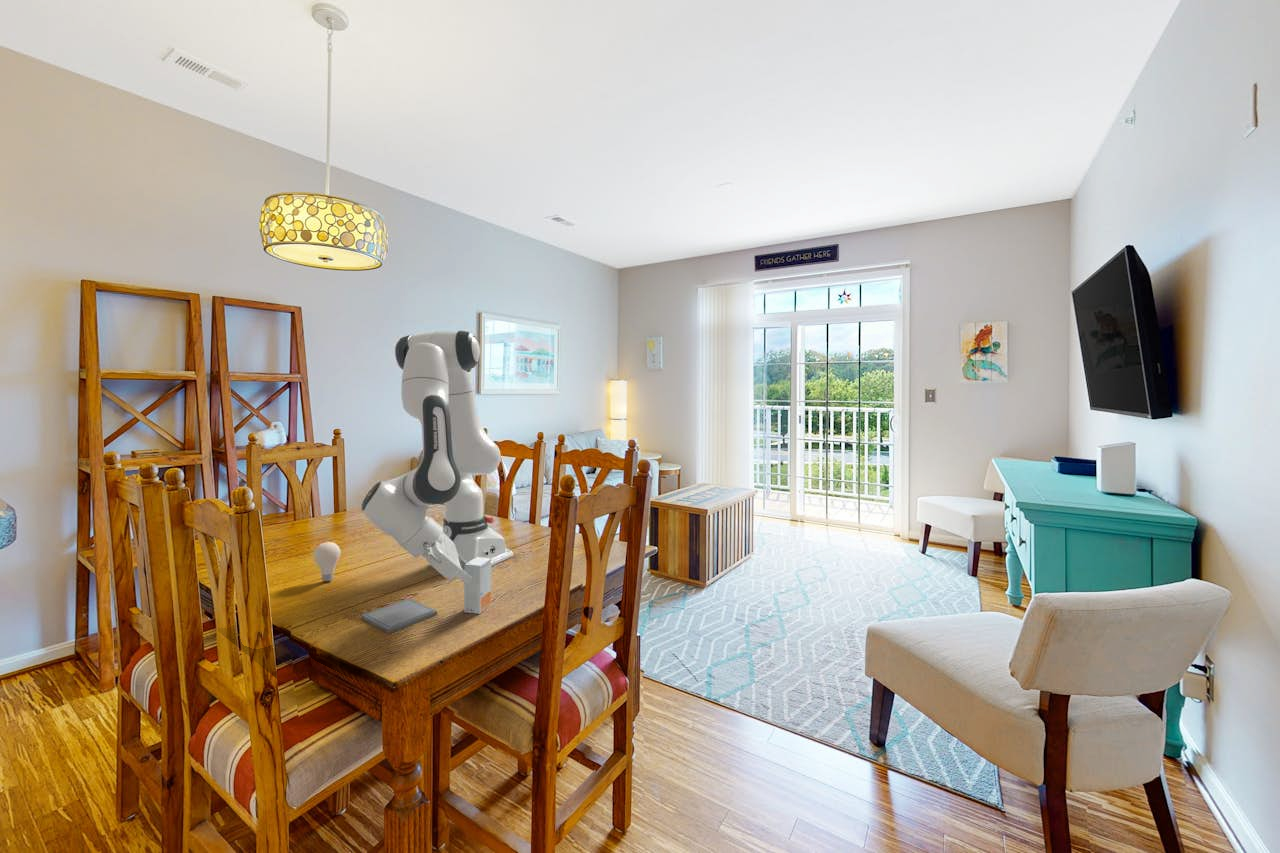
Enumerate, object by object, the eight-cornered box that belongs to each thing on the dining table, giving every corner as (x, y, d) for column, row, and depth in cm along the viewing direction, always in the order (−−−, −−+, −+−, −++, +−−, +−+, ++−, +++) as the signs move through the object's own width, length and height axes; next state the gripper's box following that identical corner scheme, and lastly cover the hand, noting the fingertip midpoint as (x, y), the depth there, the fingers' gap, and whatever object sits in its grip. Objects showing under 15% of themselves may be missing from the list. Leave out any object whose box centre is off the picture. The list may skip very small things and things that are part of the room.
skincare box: (480, 614, 125) (479, 566, 125) (463, 612, 126) (463, 564, 125) (492, 604, 131) (491, 557, 130) (476, 602, 132) (476, 556, 131)
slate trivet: (409, 601, 132) (409, 598, 132) (437, 614, 125) (437, 610, 125) (361, 618, 122) (361, 614, 122) (388, 633, 115) (388, 629, 115)
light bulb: (321, 577, 147) (320, 538, 147) (346, 576, 148) (345, 538, 147) (308, 586, 141) (307, 546, 140) (334, 585, 141) (333, 545, 141)
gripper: (435, 540, 114) (482, 578, 118) (432, 517, 132) (472, 551, 137) (413, 562, 112) (461, 600, 117) (413, 536, 131) (455, 570, 136)
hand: (467, 573), depth 127 cm, fingers open, 8 cm apart
